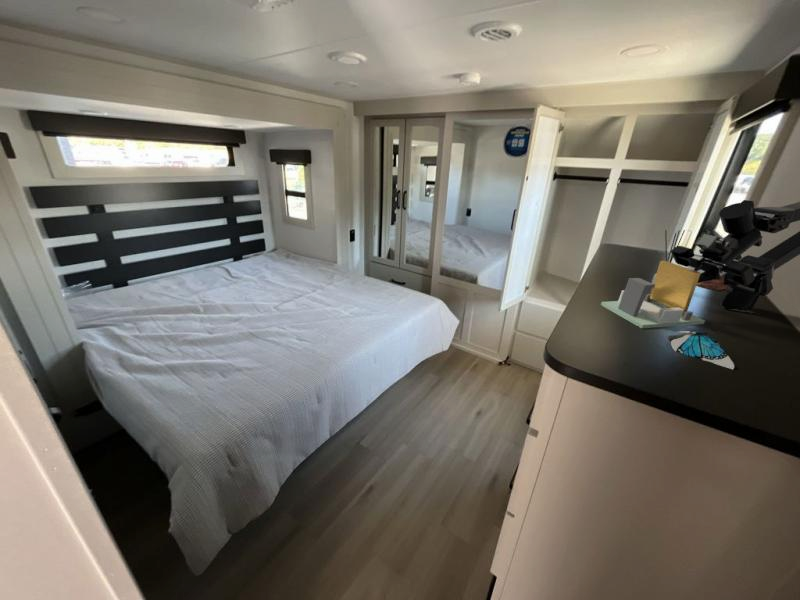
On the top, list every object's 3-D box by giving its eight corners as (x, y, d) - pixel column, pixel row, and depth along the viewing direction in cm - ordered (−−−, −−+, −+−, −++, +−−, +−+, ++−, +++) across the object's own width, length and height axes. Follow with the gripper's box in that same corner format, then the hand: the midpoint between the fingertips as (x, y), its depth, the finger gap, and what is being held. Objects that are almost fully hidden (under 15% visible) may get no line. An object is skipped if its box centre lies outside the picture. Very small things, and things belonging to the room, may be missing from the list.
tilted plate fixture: (656, 301, 97) (669, 270, 93) (703, 323, 85) (720, 289, 81) (600, 304, 94) (611, 272, 89) (641, 328, 81) (656, 292, 77)
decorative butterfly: (665, 321, 77) (721, 323, 72) (663, 345, 79) (718, 348, 74) (675, 340, 69) (739, 343, 64) (673, 365, 71) (734, 370, 66)
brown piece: (694, 288, 110) (704, 268, 107) (678, 277, 120) (686, 259, 117) (735, 293, 107) (746, 273, 104) (714, 281, 118) (724, 263, 114)
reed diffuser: (661, 293, 104) (687, 233, 96) (638, 286, 109) (660, 228, 101) (672, 287, 110) (697, 230, 101) (650, 280, 115) (672, 225, 106)
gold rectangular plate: (652, 300, 94) (664, 260, 89) (685, 315, 85) (701, 272, 80) (648, 301, 94) (659, 261, 88) (681, 316, 85) (696, 273, 80)
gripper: (689, 217, 89) (643, 255, 92) (771, 232, 73) (711, 278, 75) (699, 244, 94) (655, 279, 97) (778, 264, 78) (721, 306, 80)
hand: (682, 285), depth 87 cm, fingers closed
